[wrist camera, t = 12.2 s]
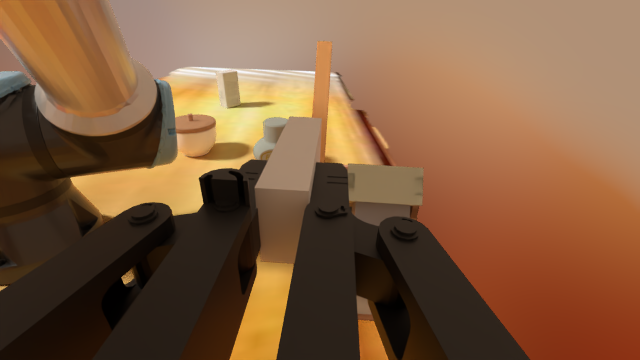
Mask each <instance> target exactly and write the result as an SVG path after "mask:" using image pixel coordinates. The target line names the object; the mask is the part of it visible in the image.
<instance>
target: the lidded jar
mask: <svg viewBox="0 0 640 360" xmlns="http://www.w3.org/2000/svg"><path fill="white" fill-rule="evenodd" d="M175 124H176V134H177V146H178V150H179V151H180V152H182V153H183V154H184V155H185V156H188V157H198V156H203V155H205V154H207V153H209V151H210V149H211V148H212V147H213V145H214V143H215V141H216V121H215V119H214V118H213V117H211V116H207V115H192V114H188V115H185V116H179V117H175Z"/></svg>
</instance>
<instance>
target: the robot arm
mask: <svg viewBox="0 0 640 360" xmlns="http://www.w3.org/2000/svg"><path fill="white" fill-rule="evenodd" d="M0 39H1V40H2V41H3V43H4V44H5V45H6V46H7V47H8V48H9V50H10V51H11V52H12V53H13V55H14V56H15V57H16V58H17V59H18V61H19V62H20V63H21V64H22V65H23V67H24V68H25V69H26V70H27V71H28V72H29V74H30V75H31V76H32V77H33V79H34V80H35V81H36V82H37V84H36V85H31V84H30V83H31V80H30V79H29V78H28V77H27V76H26V75H25V74H24V73H22V72H18V71H14V72H12V71H11V72H10V71H4V72H0V285H4V284H11V285H9V286H8V287H6V288H4V289H3V290H1V291H0V360H229V359H230V356H231V353H232V350H233V347H234V344H235V340H236V337H237V334H238V331H239V328H240V325H241V322H242V318H243V315H244V312H245V309H246V306H247V303H248V300H249V296H250V293H251V290H252V287H253V284H254V281H255V278H256V274H257V264H256V259H257V256H258V253H259V250H260V259H261V261H264V262H279V263H293V264H294V268H293V274H292V279H291V284H290V290H289V295H288V300H287V306H286V311H285V316H284V322H283V327H282V332H281V338H280V343H279V348H278V354H277V359H276V360H360V350H359V331H358V313H357V296H360V297H362V298H365V299H367V300H368V306H369V308H370V311H371V314H372V316H373V319H374V322H375V324H376V327H377V330H378V332H379V335H380V338H381V340H382V343H383V346H384V348H385V351H386V354H387V356H388V359H389V360H530V359H529V358H528V356H527V355H526V354H525V352H524V351H523V350H522V349H521V347H520V346H519V345H518V343H517V342H516V341H515V340H514V338H513V337H512V336H511V335H510V333H509V332H508V331H507V329H506V328H505V327H504V325H503V324H502V323H501V322H500V320H499V319H498V318H497V317H496V315H495V314H494V313H493V311H492V310H491V309H490V308H489V306H488V305H487V304H486V302H485V301H484V300H483V299H482V298H481V296H480V295H479V293H478V292H477V291H476V290H475V288H474V287H473V286H472V285H471V283H470V282H469V281H468V279H467V278H466V277H465V275H464V274H463V273H462V272H461V270H460V269H459V268H458V267H457V265H456V264H455V263H454V262H453V260H452V259H451V258H450V256H449V255H448V254H447V252H446V251H445V250H444V249H443V247H442V246H441V245H440V243H439V242H438V241H437V240H436V238H435V237H434V236H433V234H432V233H431V232H430V231H429V230H428V228H426V227H425V226H424V225H423V224H422V223H420V222H418V221H416V220H414V219H411V218H407V217H400V216H394V217H389V218H386V219H384V220H383V221H381V222H380V225H379V226H376V225H373V224H369V223H366V222H364V221H362V220H360V219H358V218H357V217H355V216H354V215H353V214H352V211H351V209H350V207H349V189H348V170H347V169H346V168H345V167H344V165H343V164H340V163H322V162H320V151H321V124H322V118H308V117H289V119H288V121H287V123H286V125H285V127H284V129H283V131H282V133H281V135H280V137H279V139H278V141H277V143H276V145H275V147H274V149H273V151H272V153H271V155H270V158H269V160H252V159H251V160H250V161H248V162H247V163H245V164H243V165H242V166H241V168H240V169H239V170H238V169H232V168H228V169H218V170H213V171H210V172H208V173H205V174H204V175H202V176H201V177H200V178H199V181H200V187H201V192H202V197H203V203H204V204H203V205H202V207H201V208H200V210H199V211H198V212H197V213H192V214H184V215H177V216H173V214H172V210H171V209H170V207H169V206H168V205H166V204H163V203H155V202H152V203H143V204H140V205H137V206H134V207H131V208H130V209H128V210H126V211H124V212H122V213H121V214H119V215H117V216H116V217H114V218H113V219H111V220H110V221H108V222H107V223H104V221H103V218H102V216H101V213H100V212H99V210H98V209H97V208H96V207H95V206H94V205H93V204H92V203H91V202H90V201H89V200H88V199H87V198H86V197H85V196H84V195H83V194H82V193H81V192H80V191H79V190H78V189H77V188H76V187H75V186H74V185H73V183H72V181H71V179H70V177H77V176H85V175H92V174H100V173H108V172H115V171H123V170H131V169H139V168H148V169H150V168H154V167H155V166H160V165H165V164H170V163H172V162H173V161H174V160H175V159H176V157H177V153H178V146H177V134H176V124H175V112H174V105H173V98H172V92H171V87H170V85H169V83H167V82H166V81H161V80H158V79H153V77H152V75H151V73H150V72H149V71H148V70H147V69H146V68H145V67H144V66H143V65H142V64H140V63H139V62H138V61H136V60H134V59H133V58H131V57H130V54H129V51H128V49H127V46H126V44H125V41H124V38H123V36H122V33H121V31H120V28H119V25H118V23H117V20H116V18H115V15H114V12H113V10H112V7H111V5H110V2H109V0H0ZM130 269H131V270H132V273H133V275H134V279H133V280H132V281H131V282H129V283H127V284H124V283H123V281H122V278H121V277H122V276H123V275H124V274H126V273H127V272H128V271H129V270H130Z"/></svg>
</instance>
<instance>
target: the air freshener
mask: <svg viewBox="0 0 640 360" xmlns="http://www.w3.org/2000/svg"><path fill="white" fill-rule="evenodd" d="M287 121H288V119H285V118H279V117H274V118H268V119H266V120H265V121H264V122H263V130H264V138H262V139H260V140H259V141H258V142H257V143H256V144H255V146H254V149H253V154H254V156H255V158H256V159H257V160H269V158H270V155H271V153H272V151H273V149H274V147H275V145H276V143H277V141H278V139H279V137H280V135H281V133H282V131H283V129H284V127H285V125H286V123H287Z"/></svg>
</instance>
